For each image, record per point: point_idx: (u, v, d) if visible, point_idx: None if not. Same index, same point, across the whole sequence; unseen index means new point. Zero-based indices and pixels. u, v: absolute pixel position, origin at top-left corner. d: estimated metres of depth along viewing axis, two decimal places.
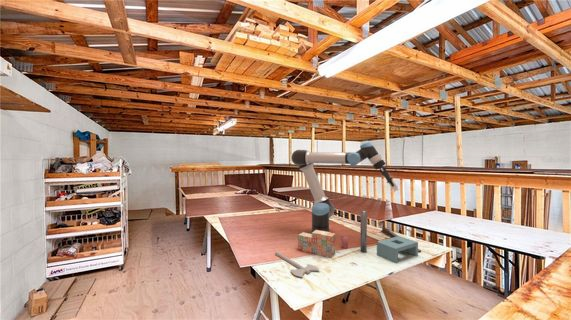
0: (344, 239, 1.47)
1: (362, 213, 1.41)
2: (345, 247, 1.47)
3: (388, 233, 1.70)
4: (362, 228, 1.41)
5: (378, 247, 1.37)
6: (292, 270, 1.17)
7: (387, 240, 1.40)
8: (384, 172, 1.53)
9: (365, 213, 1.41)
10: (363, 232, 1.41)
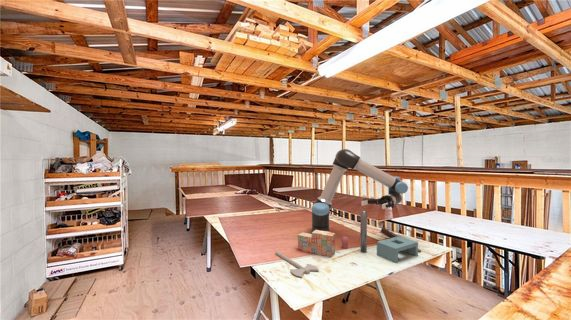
0: (344, 239, 1.47)
1: (362, 213, 1.41)
2: (345, 247, 1.47)
3: (387, 233, 1.70)
4: (362, 228, 1.41)
5: (378, 247, 1.37)
6: (292, 270, 1.17)
7: (387, 240, 1.40)
8: None
9: (365, 213, 1.41)
10: (363, 232, 1.41)
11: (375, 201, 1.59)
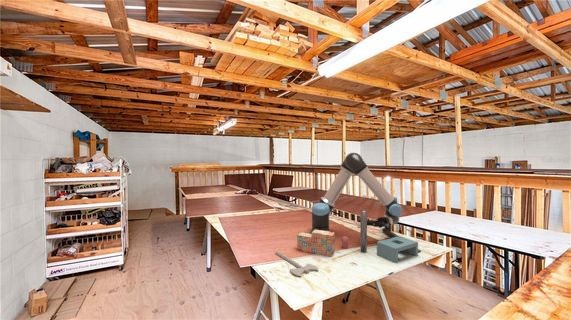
0: (344, 239, 1.47)
1: (362, 213, 1.41)
2: (345, 247, 1.47)
3: (388, 233, 1.70)
4: (362, 228, 1.41)
5: (378, 247, 1.37)
6: (291, 269, 1.18)
7: (387, 240, 1.40)
8: None
9: (365, 213, 1.41)
10: (363, 232, 1.41)
11: (372, 223, 1.55)
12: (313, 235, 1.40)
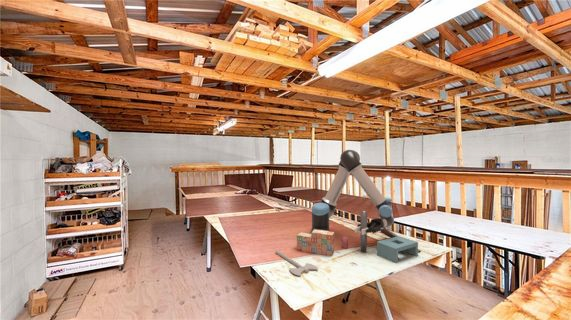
0: (344, 239, 1.47)
1: (362, 213, 1.41)
2: (345, 247, 1.47)
3: (388, 233, 1.70)
4: (362, 228, 1.41)
5: (378, 247, 1.37)
6: (291, 269, 1.19)
7: (387, 240, 1.40)
8: (379, 229, 1.43)
9: (365, 213, 1.41)
10: None
11: (367, 226, 1.48)
12: (313, 235, 1.40)
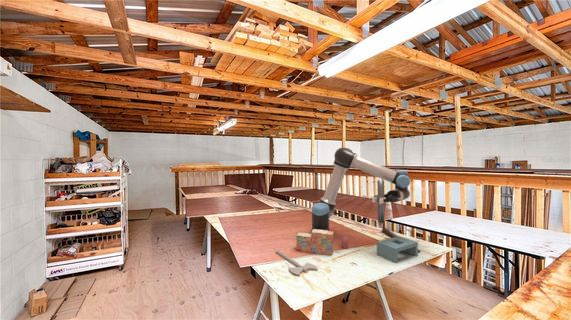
0: (344, 239, 1.47)
1: (379, 182, 1.38)
2: (345, 247, 1.47)
3: (388, 233, 1.70)
4: (379, 198, 1.38)
5: (378, 247, 1.37)
6: (290, 268, 1.19)
7: (387, 240, 1.40)
8: (397, 199, 1.40)
9: (382, 182, 1.37)
10: None
11: (384, 197, 1.45)
12: (313, 235, 1.40)
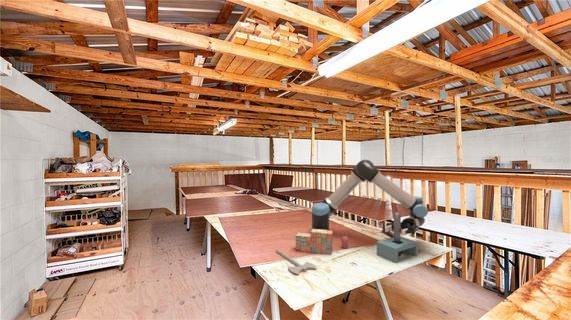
0: (344, 239, 1.47)
1: (396, 215, 1.36)
2: (345, 247, 1.47)
3: (388, 233, 1.70)
4: (396, 231, 1.36)
5: (378, 247, 1.37)
6: (289, 267, 1.20)
7: (387, 240, 1.40)
8: (416, 229, 1.38)
9: (399, 215, 1.36)
10: (397, 235, 1.36)
11: None
12: (312, 234, 1.41)
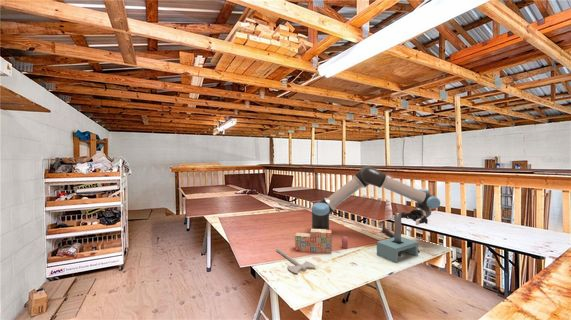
0: (344, 239, 1.47)
1: (396, 215, 1.36)
2: (345, 247, 1.47)
3: (388, 233, 1.70)
4: (396, 231, 1.36)
5: (378, 247, 1.37)
6: (289, 266, 1.21)
7: (387, 240, 1.40)
8: None
9: (400, 215, 1.35)
10: (397, 235, 1.36)
11: (405, 215, 1.54)
12: (312, 234, 1.41)
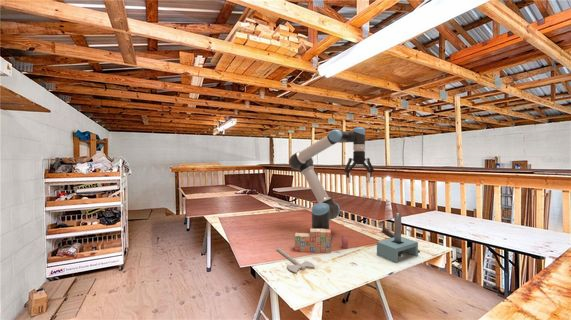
0: (344, 239, 1.47)
1: (396, 215, 1.36)
2: (345, 247, 1.47)
3: (388, 233, 1.70)
4: (396, 231, 1.36)
5: (378, 247, 1.37)
6: (288, 265, 1.22)
7: (387, 240, 1.40)
8: (348, 162, 1.60)
9: (400, 215, 1.35)
10: (397, 235, 1.36)
11: (363, 165, 1.62)
12: (312, 234, 1.42)
